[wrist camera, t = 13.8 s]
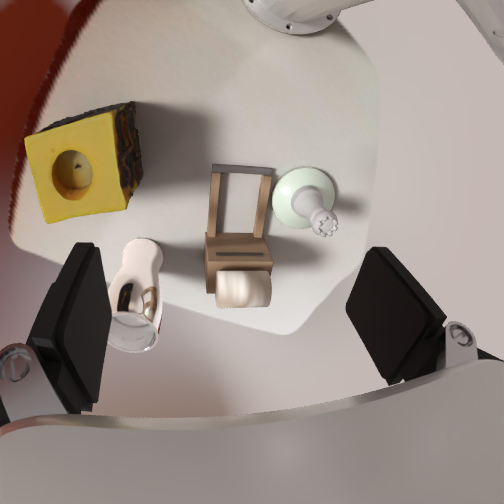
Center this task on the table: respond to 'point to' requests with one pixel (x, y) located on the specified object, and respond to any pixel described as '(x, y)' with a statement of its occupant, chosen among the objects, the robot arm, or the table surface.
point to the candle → (86, 163)
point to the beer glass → (136, 298)
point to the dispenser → (238, 250)
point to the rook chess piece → (314, 210)
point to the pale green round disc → (290, 185)
